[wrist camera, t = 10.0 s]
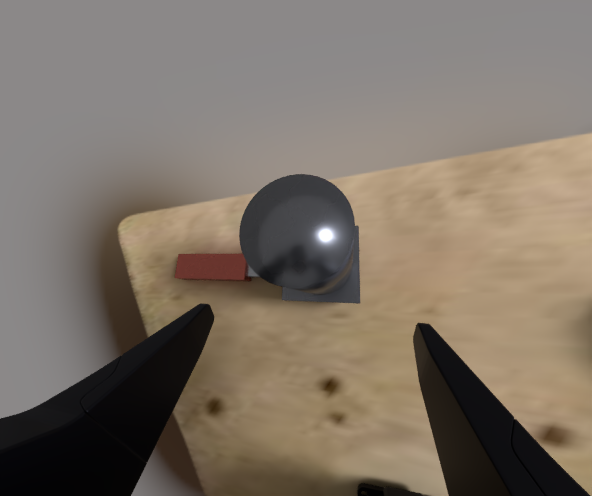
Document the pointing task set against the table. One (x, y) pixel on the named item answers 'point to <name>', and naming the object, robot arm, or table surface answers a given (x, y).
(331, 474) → the table surface
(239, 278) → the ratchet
